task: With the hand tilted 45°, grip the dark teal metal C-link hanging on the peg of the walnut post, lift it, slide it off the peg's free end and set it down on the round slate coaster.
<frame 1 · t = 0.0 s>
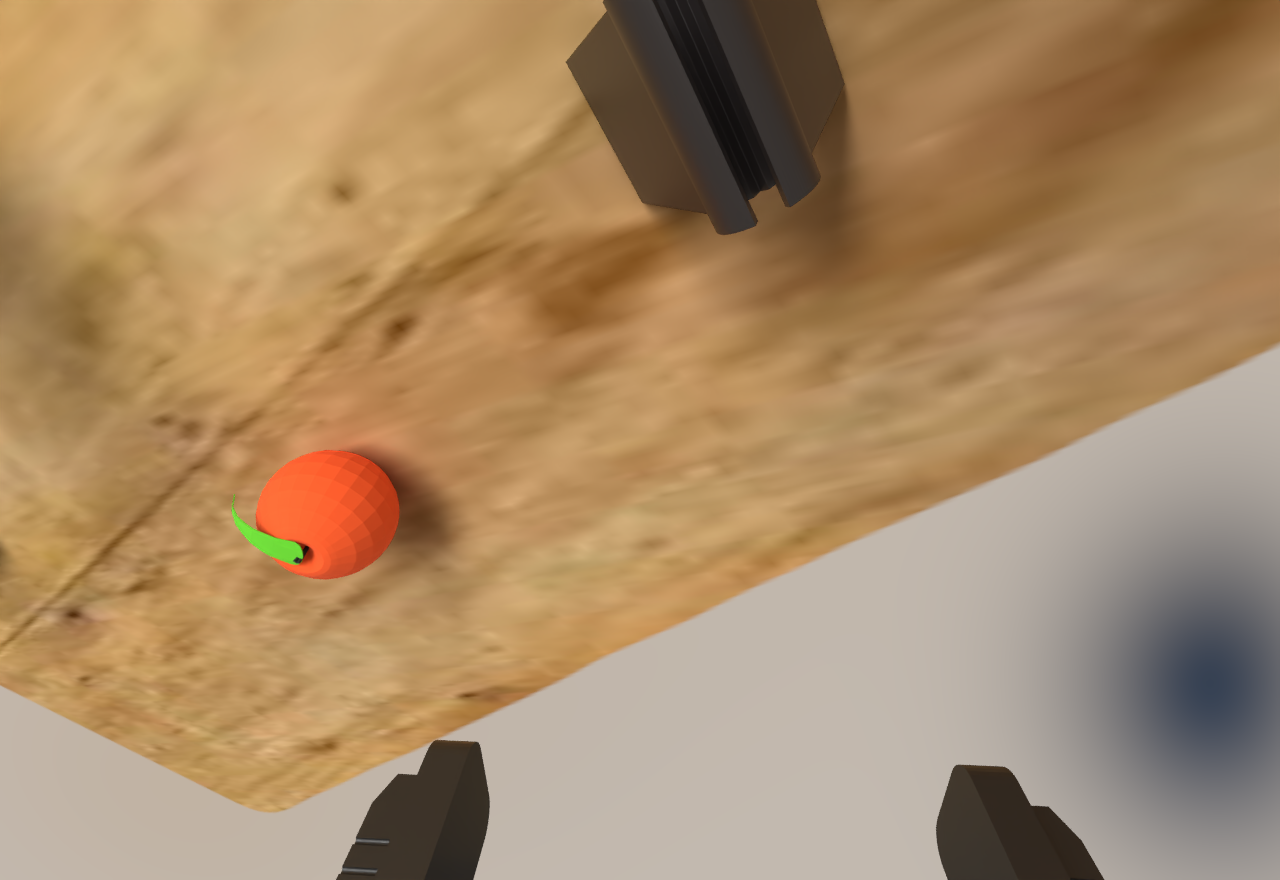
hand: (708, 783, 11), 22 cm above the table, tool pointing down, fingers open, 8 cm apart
phone stand: (704, 71, 24), on the table
clementine: (351, 470, 36), on the table
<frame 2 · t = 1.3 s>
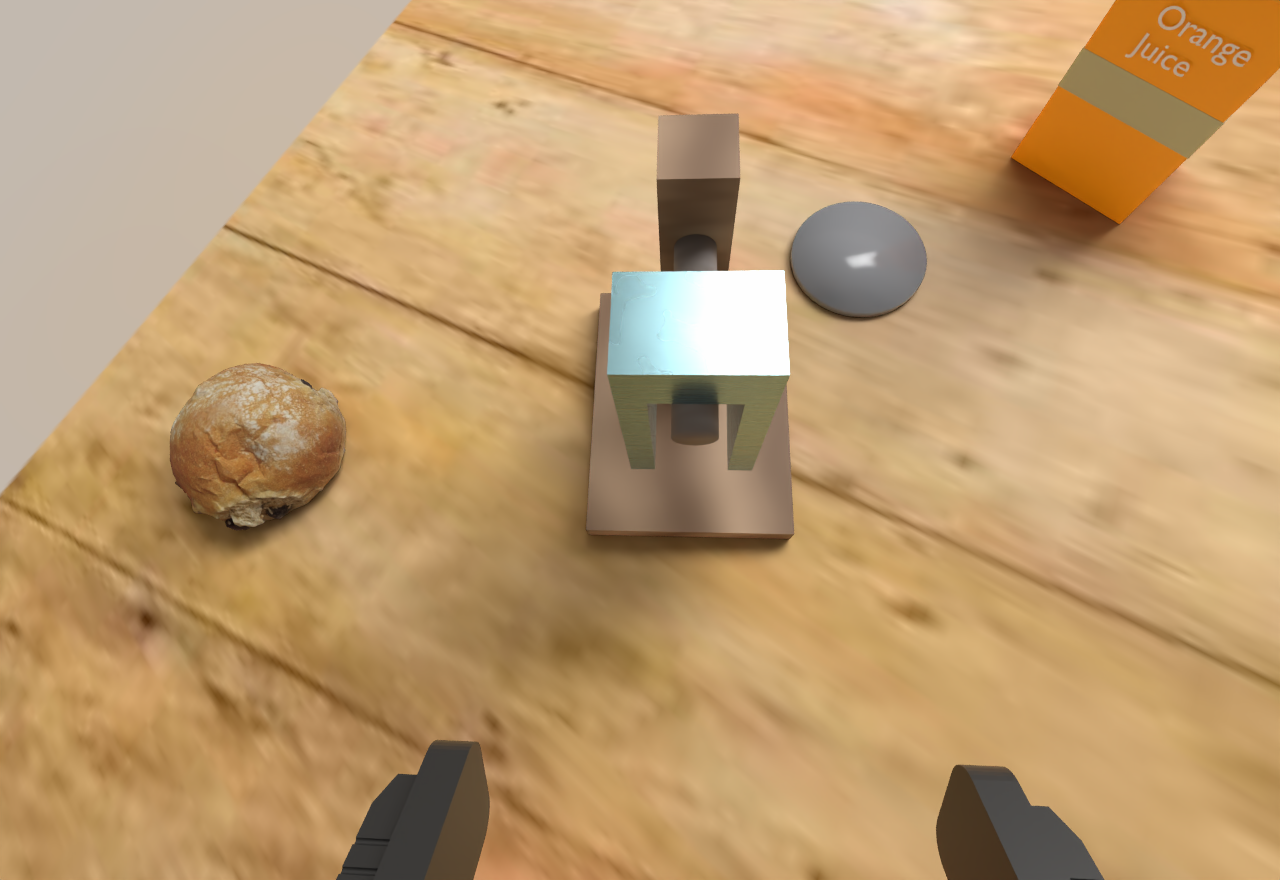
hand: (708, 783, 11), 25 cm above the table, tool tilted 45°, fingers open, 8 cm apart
c link: (691, 432, 31), point 7 cm above the table, touching stand
stand: (689, 413, 39), on the table
orange juice: (1092, 160, 44), on the table
coaster: (856, 260, 42), on the table
bread roll: (280, 456, 41), on the table
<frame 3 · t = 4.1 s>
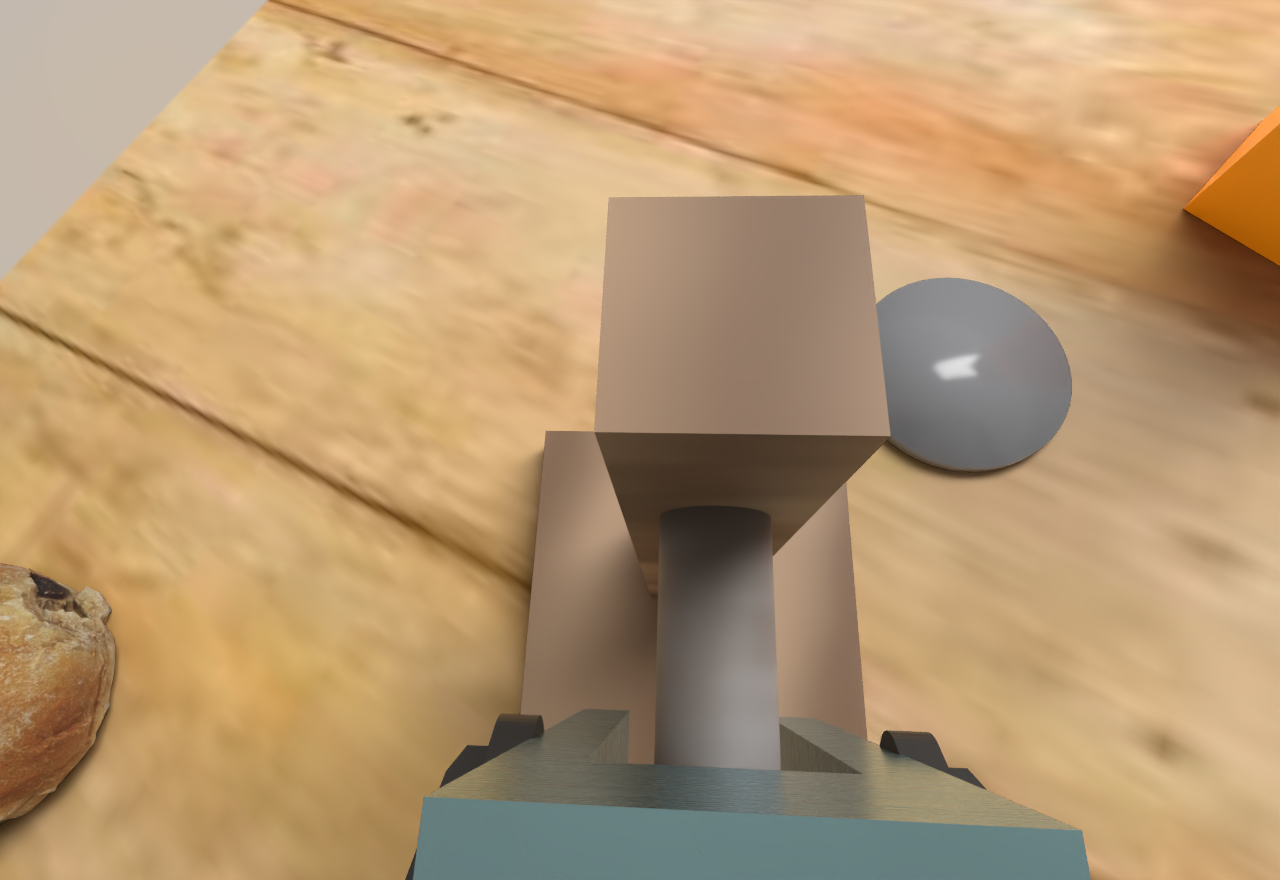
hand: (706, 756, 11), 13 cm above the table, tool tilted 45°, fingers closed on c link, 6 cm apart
c link: (698, 800, 15), point 7 cm above the table, touching gripper, stand
stand: (689, 641, 24), on the table
coaster: (954, 373, 27), on the table
bread roll: (8, 706, 24), on the table
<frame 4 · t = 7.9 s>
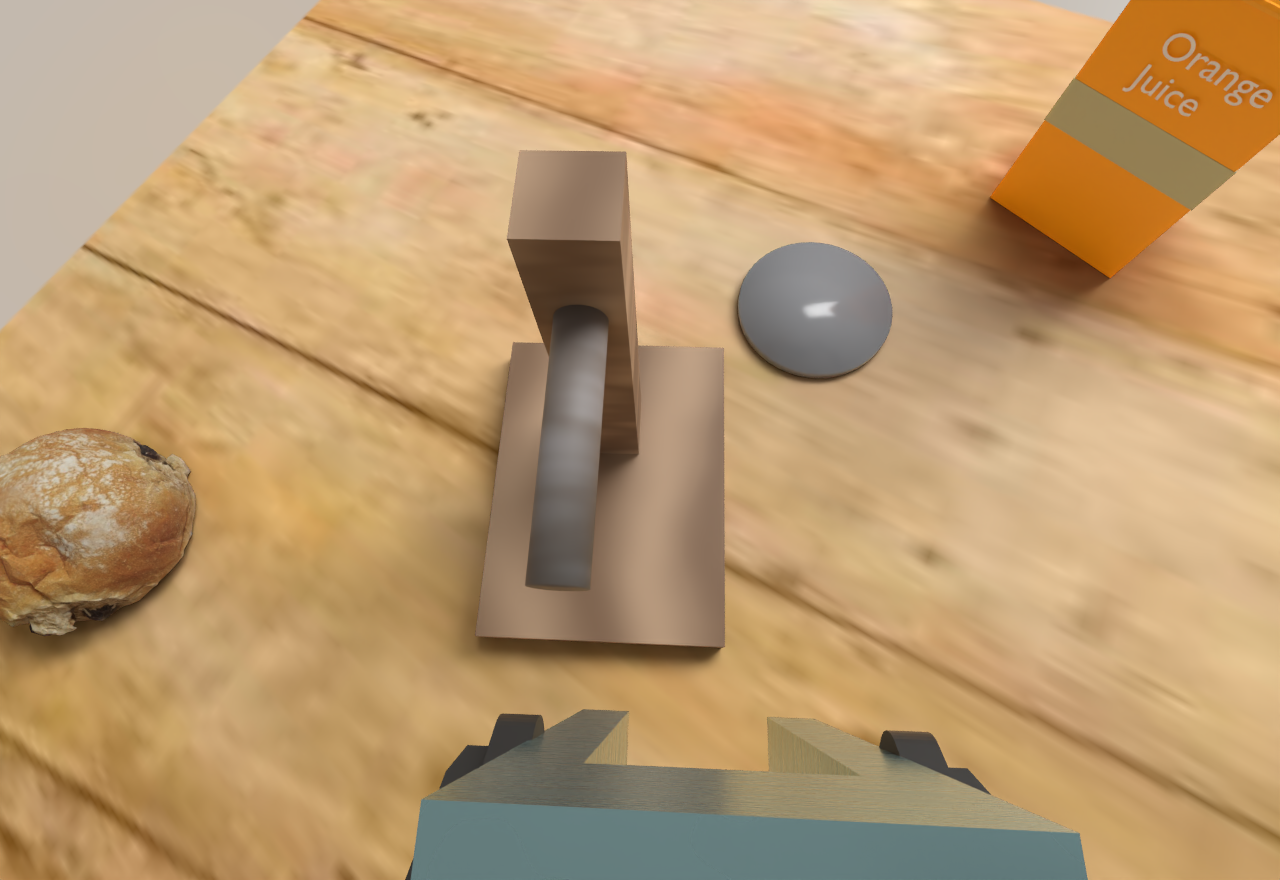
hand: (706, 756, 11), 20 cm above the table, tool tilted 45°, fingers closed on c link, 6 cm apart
c link: (697, 801, 15), point 15 cm above the table, touching gripper
stand: (611, 488, 33), on the table
orange juice: (1080, 204, 39), on the table
coaster: (812, 310, 37), on the table
bread roll: (115, 537, 34), on the table
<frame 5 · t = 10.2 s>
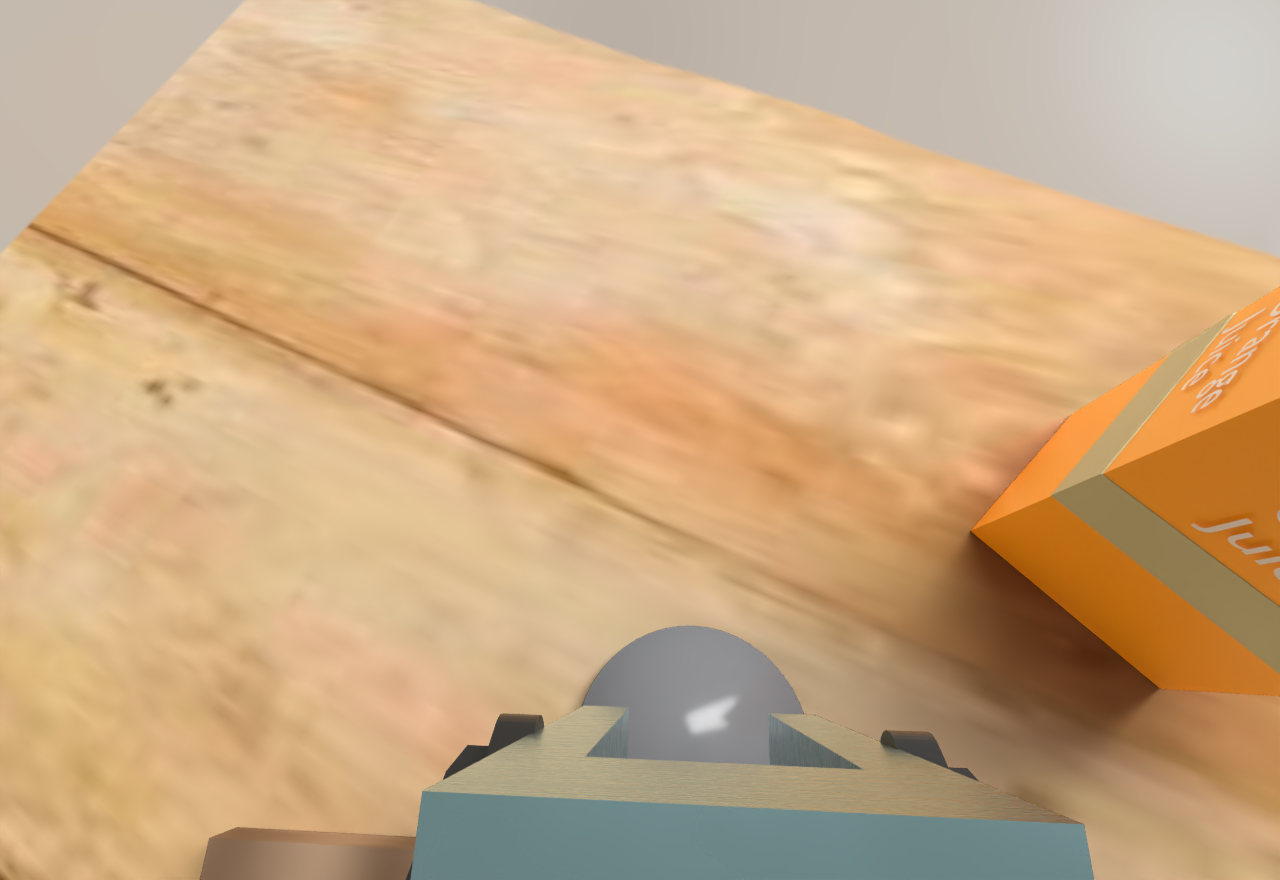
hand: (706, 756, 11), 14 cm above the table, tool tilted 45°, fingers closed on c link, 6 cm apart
c link: (698, 797, 15), point 9 cm above the table, touching gripper
orange juice: (1109, 541, 26), on the table
coaster: (691, 747, 24), on the table
when the fingers open (7 cm above the table, at t = 11.9 s): c link drops 2 cm, resting on coaster.
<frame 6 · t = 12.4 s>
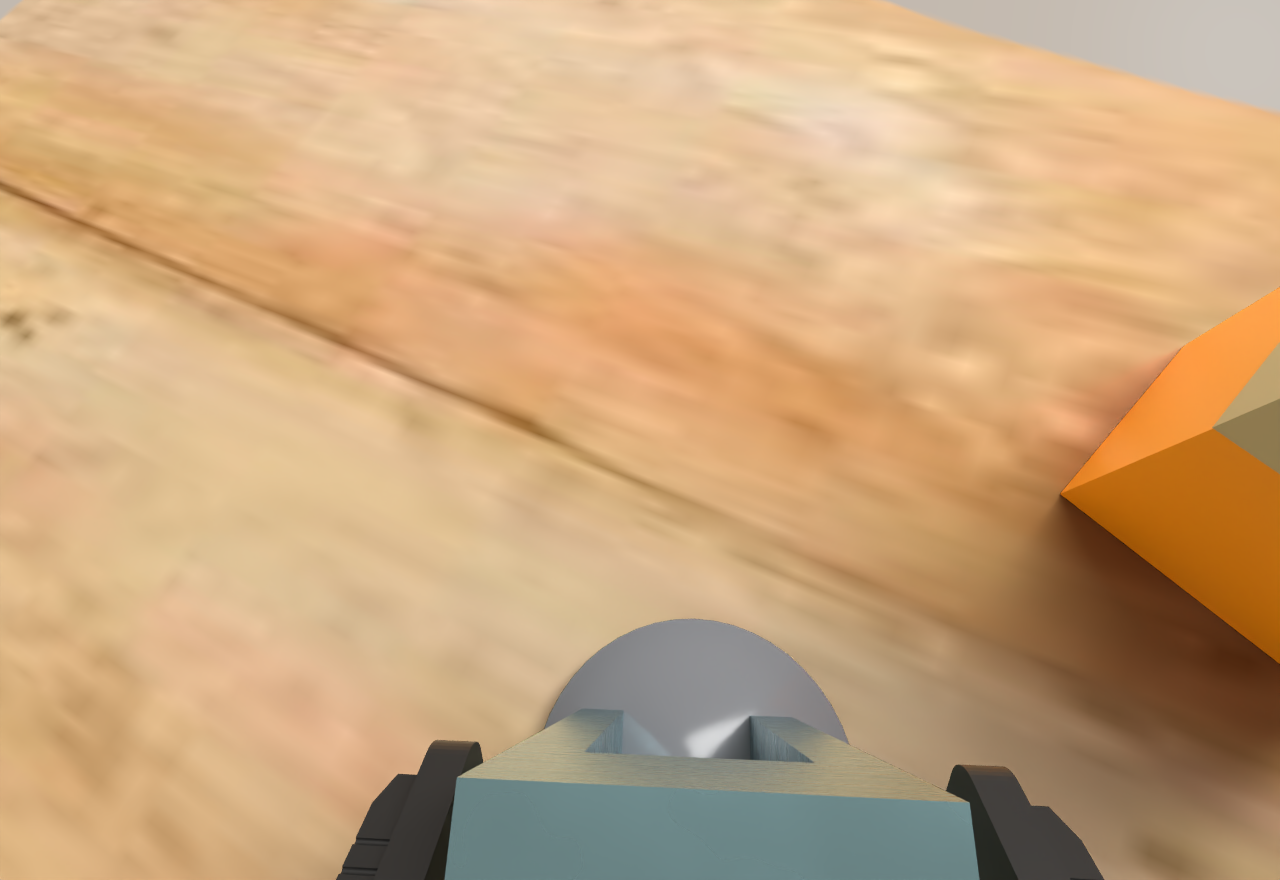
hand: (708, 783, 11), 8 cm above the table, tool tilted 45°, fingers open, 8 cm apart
c link: (685, 791, 17), point 1 cm above the table, touching coaster
orange juice: (1244, 507, 20), on the table
coaster: (693, 784, 17), on the table
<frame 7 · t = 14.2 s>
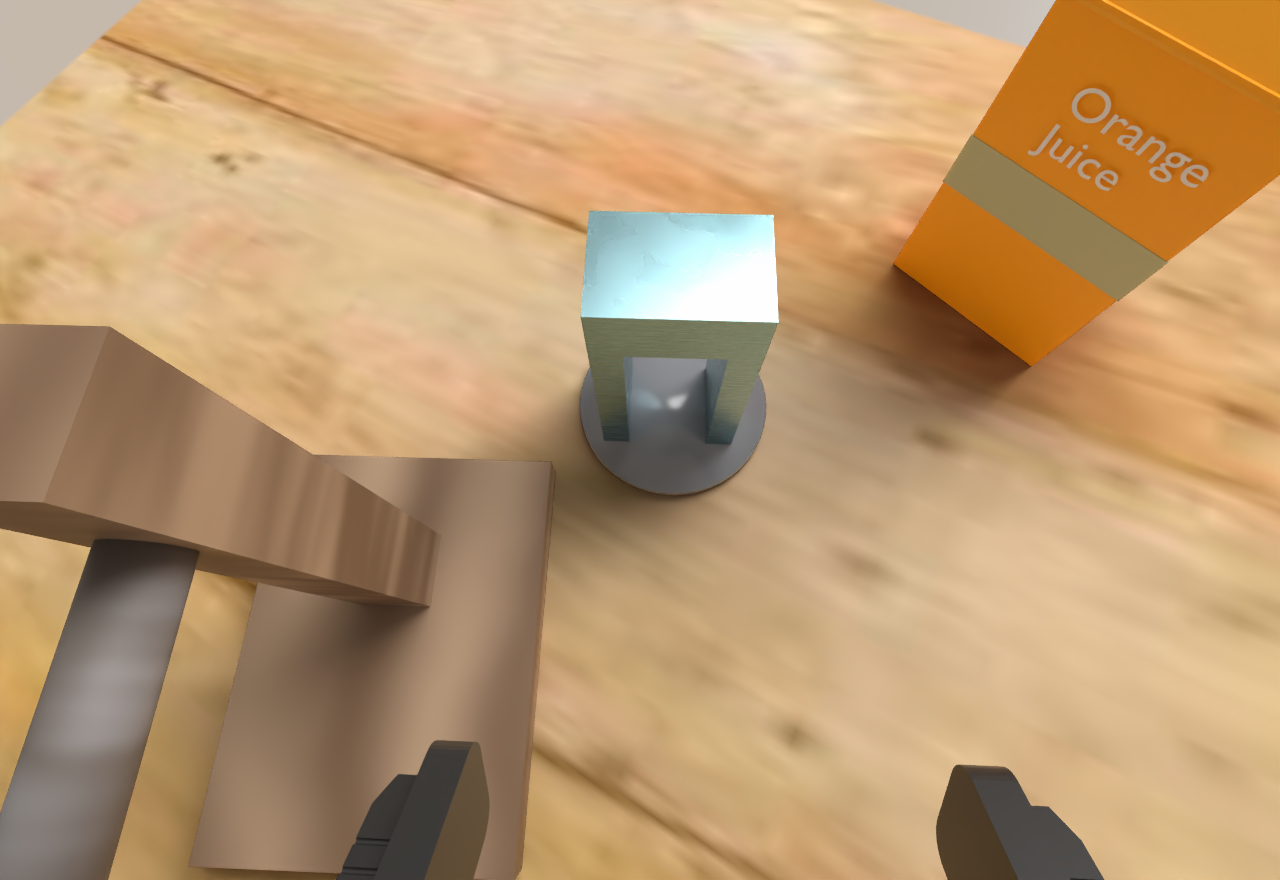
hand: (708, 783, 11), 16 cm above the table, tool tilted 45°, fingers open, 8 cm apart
c link: (668, 403, 30), point 1 cm above the table, touching coaster
stand: (402, 644, 26), on the table
orange juice: (999, 272, 33), on the table
coaster: (672, 407, 30), on the table
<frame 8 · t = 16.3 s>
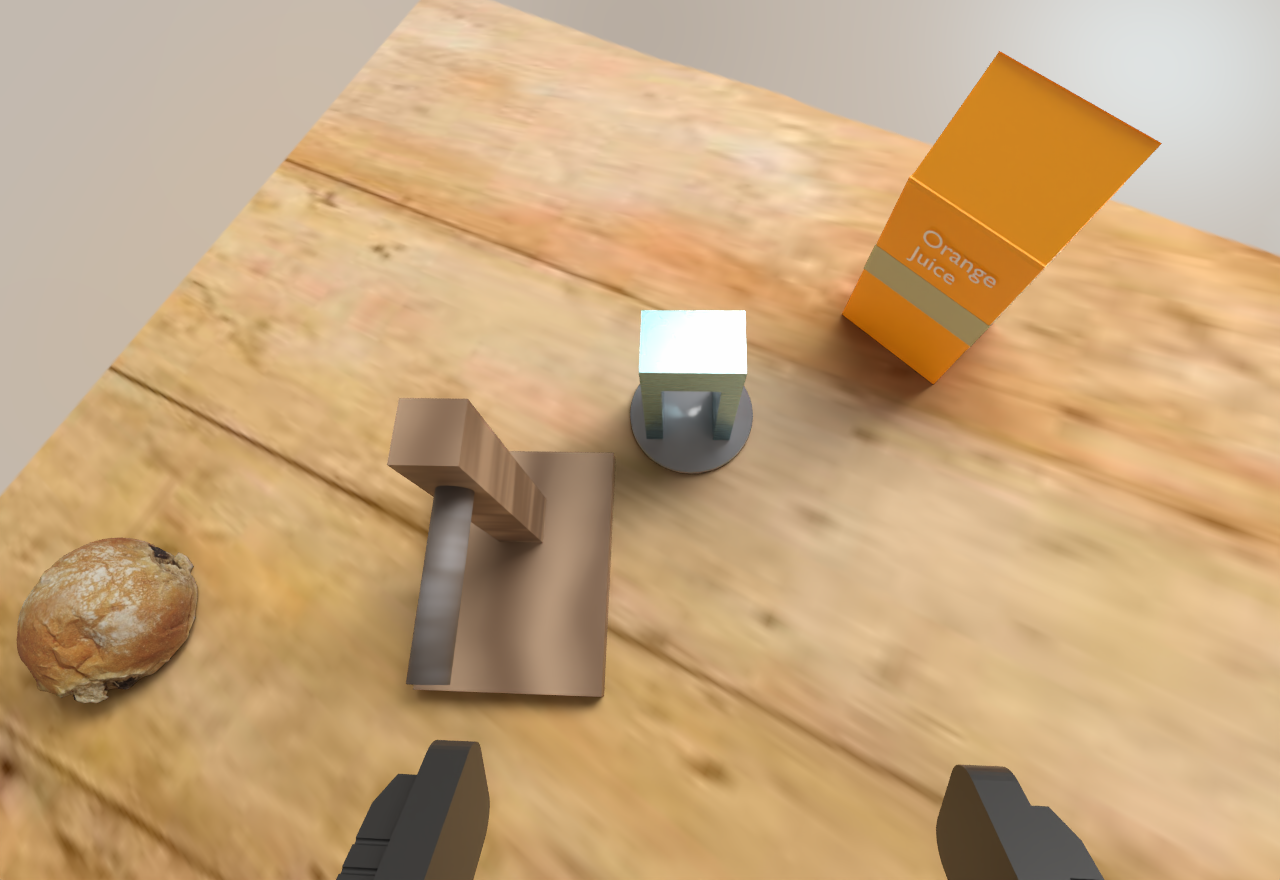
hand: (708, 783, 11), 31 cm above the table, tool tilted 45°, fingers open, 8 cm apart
c link: (688, 414, 45), point 1 cm above the table, touching coaster
stand: (524, 567, 43), on the table
orange juice: (916, 318, 48), on the table
coaster: (690, 415, 46), on the table
bread roll: (136, 620, 43), on the table
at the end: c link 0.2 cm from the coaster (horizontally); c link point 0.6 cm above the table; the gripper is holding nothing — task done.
